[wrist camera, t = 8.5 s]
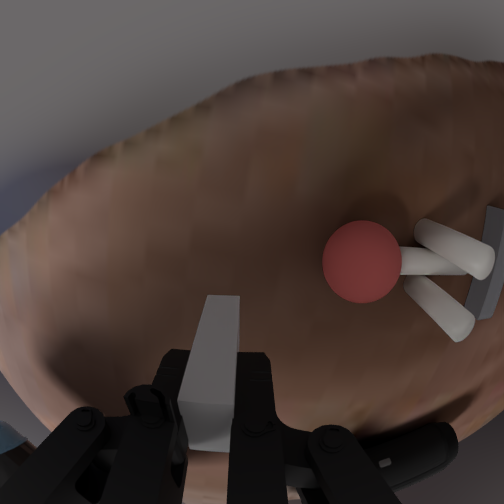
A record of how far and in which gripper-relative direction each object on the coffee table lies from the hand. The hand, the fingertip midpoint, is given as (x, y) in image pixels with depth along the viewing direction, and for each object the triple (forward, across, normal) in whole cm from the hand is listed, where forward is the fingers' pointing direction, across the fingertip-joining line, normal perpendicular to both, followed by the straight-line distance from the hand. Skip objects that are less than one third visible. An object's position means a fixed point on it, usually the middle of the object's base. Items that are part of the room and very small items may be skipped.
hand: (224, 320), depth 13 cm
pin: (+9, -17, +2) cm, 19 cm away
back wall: (+9, -28, 0) cm, 29 cm away
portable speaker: (+10, -22, +33) cm, 41 cm away
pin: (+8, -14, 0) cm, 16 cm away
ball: (+6, -9, -1) cm, 11 cm away
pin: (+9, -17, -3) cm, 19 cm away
